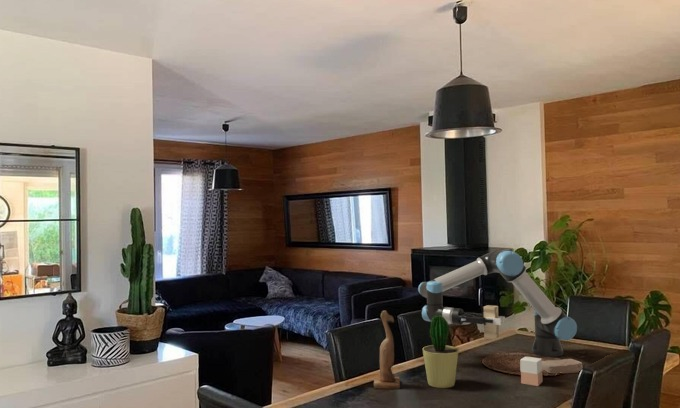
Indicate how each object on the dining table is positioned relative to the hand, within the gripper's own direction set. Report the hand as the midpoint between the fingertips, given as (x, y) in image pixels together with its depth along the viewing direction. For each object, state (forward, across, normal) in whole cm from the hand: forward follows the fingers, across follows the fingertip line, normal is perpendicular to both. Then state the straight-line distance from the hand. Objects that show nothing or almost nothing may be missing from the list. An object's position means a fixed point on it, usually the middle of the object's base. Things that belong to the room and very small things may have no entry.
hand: (502, 320), depth 231 cm
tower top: (+12, +2, -20) cm, 24 cm away
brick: (+19, -23, -25) cm, 39 cm away
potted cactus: (-20, +24, -25) cm, 40 cm away
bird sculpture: (-38, +38, -25) cm, 60 cm away
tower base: (+12, +2, -25) cm, 28 cm away
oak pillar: (-5, 0, -8) cm, 10 cm away
